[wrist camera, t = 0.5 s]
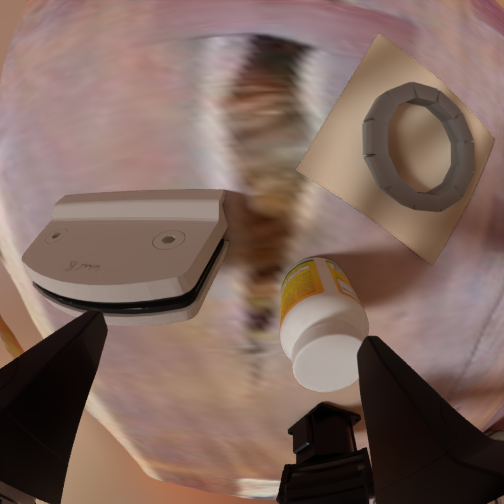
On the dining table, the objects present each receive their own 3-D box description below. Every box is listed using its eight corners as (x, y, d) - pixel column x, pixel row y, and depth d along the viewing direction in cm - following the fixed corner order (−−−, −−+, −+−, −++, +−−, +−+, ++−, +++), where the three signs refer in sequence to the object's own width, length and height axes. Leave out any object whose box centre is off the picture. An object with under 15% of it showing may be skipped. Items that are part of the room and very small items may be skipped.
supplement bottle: (351, 258, 20) (396, 322, 11) (339, 317, 22) (367, 399, 13) (283, 253, 21) (286, 319, 12) (277, 314, 22) (274, 399, 13)
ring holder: (491, 139, 16) (507, 139, 13) (429, 263, 20) (443, 274, 17) (376, 36, 15) (386, 23, 12) (295, 170, 19) (298, 170, 16)
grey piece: (229, 189, 20) (193, 286, 12) (232, 242, 23) (207, 345, 15) (62, 195, 21) (-5, 260, 13) (76, 236, 24) (21, 304, 16)
